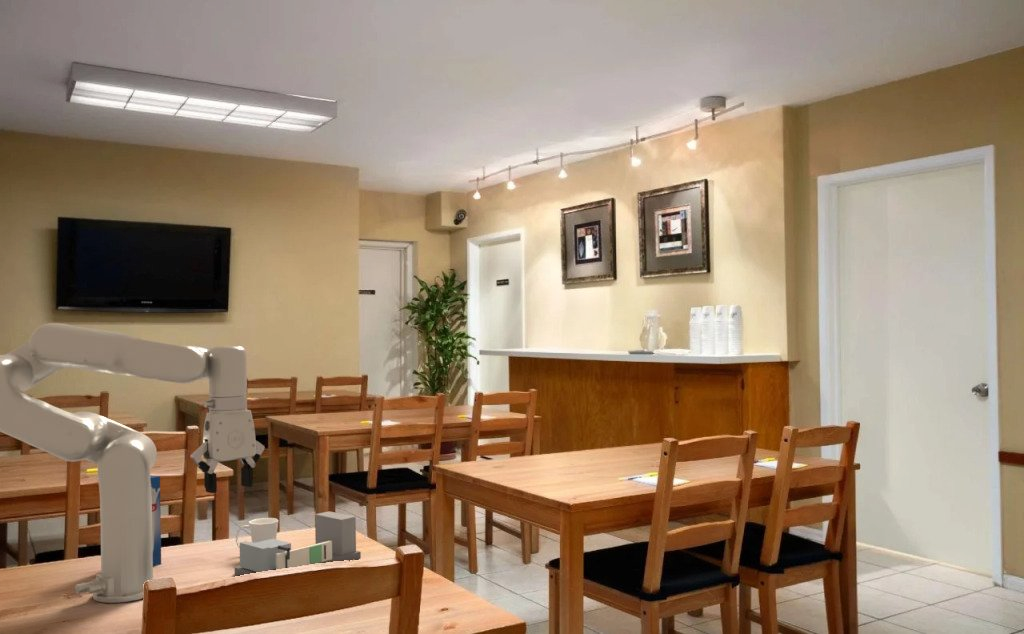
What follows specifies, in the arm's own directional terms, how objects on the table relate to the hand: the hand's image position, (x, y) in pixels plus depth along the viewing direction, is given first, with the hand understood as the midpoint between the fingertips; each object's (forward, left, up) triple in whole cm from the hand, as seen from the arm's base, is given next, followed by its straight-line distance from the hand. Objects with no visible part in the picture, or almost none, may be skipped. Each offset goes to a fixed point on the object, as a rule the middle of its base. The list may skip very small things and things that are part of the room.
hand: (229, 488), depth 176 cm
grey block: (+9, -1, -18) cm, 20 cm away
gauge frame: (+18, 0, -20) cm, 26 cm away
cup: (+17, +16, -20) cm, 31 cm away
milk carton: (-6, +30, -20) cm, 37 cm away
